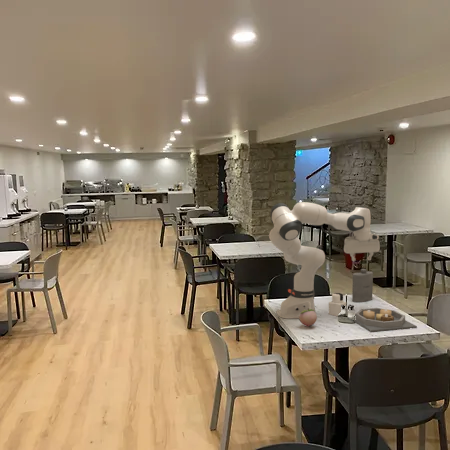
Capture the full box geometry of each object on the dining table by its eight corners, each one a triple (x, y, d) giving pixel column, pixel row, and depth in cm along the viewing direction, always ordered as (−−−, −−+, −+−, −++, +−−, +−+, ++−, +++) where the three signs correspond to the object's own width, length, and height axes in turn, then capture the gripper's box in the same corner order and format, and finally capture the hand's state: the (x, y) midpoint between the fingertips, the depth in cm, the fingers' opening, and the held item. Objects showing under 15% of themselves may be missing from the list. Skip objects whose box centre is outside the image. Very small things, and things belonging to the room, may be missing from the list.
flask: (357, 303, 277) (358, 271, 275) (350, 301, 282) (351, 269, 280) (375, 299, 284) (375, 268, 282) (368, 297, 289) (368, 267, 287)
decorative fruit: (308, 330, 229) (308, 311, 228) (296, 326, 236) (296, 308, 235) (320, 327, 235) (320, 308, 234) (309, 323, 241) (309, 304, 240)
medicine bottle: (335, 311, 261) (335, 291, 259) (346, 314, 256) (346, 293, 254) (328, 314, 256) (328, 293, 254) (339, 317, 251) (339, 296, 249)
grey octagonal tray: (370, 332, 226) (370, 320, 226) (346, 316, 251) (346, 306, 251) (416, 328, 232) (417, 316, 231) (388, 313, 257) (388, 302, 256)
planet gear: (385, 326, 232) (385, 318, 232) (378, 322, 238) (378, 314, 238) (396, 325, 234) (396, 317, 233) (389, 321, 240) (389, 313, 239)
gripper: (347, 237, 244) (346, 262, 246) (381, 235, 248) (380, 260, 250) (342, 235, 250) (341, 260, 252) (375, 234, 254) (374, 258, 256)
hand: (361, 260), depth 251 cm, fingers open, 8 cm apart
